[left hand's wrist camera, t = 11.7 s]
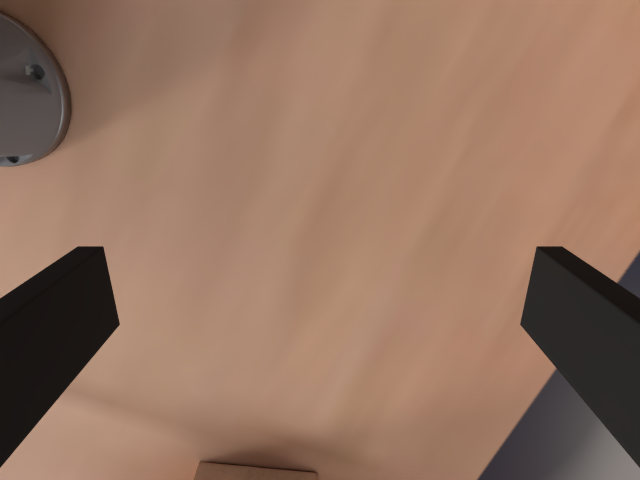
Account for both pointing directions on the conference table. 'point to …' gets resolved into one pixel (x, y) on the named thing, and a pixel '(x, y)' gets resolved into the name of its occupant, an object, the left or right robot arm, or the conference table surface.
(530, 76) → the conference table surface
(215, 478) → the box
